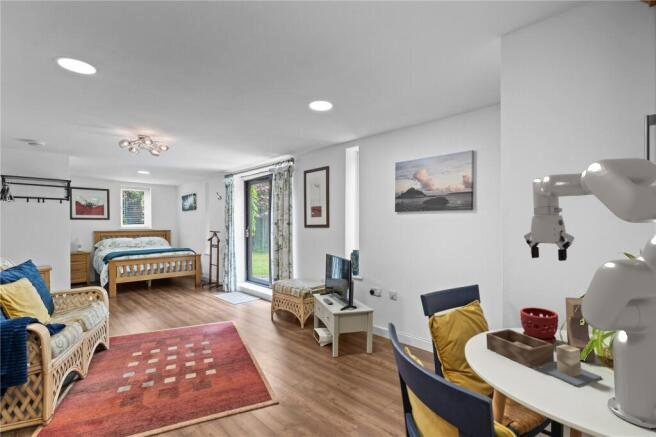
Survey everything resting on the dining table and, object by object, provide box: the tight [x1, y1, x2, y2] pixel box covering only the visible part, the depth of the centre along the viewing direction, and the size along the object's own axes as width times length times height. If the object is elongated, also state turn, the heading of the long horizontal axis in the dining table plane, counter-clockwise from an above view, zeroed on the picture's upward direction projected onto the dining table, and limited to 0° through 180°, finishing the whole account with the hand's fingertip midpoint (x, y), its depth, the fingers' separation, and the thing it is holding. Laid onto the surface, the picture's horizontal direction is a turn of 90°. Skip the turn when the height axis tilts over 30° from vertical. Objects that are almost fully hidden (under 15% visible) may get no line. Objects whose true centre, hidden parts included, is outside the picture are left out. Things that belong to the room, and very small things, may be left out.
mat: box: [537, 362, 603, 388], centre depth 103 cm, size 12×12×1 cm
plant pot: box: [519, 306, 559, 344], centre depth 131 cm, size 13×13×12 cm
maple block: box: [555, 344, 582, 377], centre depth 103 cm, size 4×4×8 cm
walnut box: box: [486, 328, 555, 369], centre depth 118 cm, size 18×12×6 cm, turn 21°
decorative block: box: [564, 297, 596, 363], centre depth 116 cm, size 11×6×20 cm, turn 154°
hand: (548, 259), depth 114 cm, fingers open, 9 cm apart
